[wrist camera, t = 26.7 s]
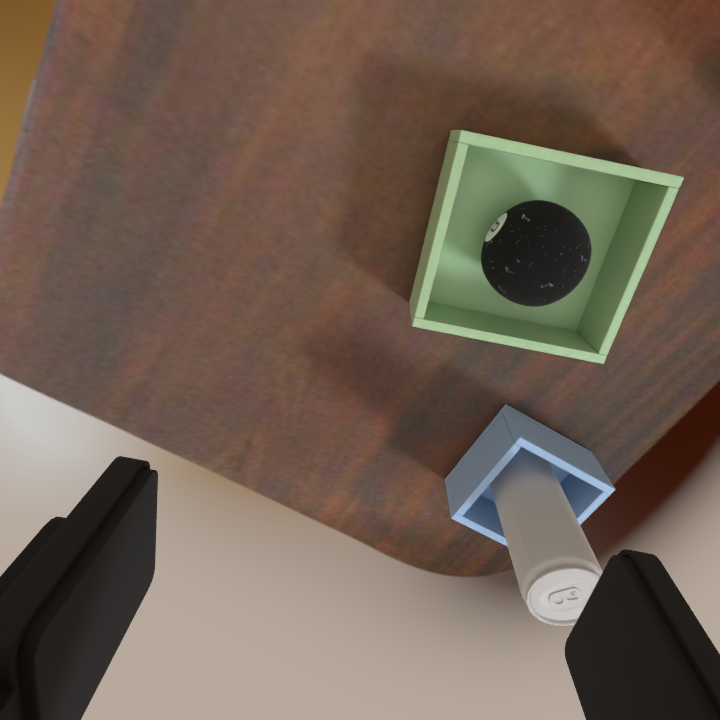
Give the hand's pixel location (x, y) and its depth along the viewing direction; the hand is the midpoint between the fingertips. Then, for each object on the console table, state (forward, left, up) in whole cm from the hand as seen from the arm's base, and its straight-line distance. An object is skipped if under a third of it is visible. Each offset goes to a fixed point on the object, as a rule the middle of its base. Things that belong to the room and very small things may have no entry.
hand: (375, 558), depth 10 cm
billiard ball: (-3, +9, -26) cm, 27 cm away
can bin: (+14, +14, -26) cm, 33 cm away
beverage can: (+14, +14, -26) cm, 33 cm away
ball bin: (-3, +9, -26) cm, 28 cm away
